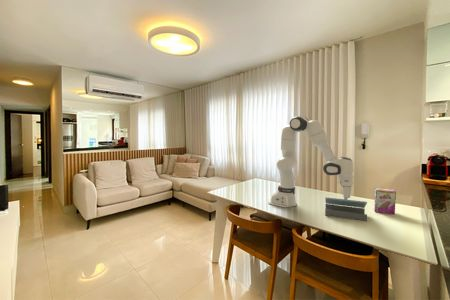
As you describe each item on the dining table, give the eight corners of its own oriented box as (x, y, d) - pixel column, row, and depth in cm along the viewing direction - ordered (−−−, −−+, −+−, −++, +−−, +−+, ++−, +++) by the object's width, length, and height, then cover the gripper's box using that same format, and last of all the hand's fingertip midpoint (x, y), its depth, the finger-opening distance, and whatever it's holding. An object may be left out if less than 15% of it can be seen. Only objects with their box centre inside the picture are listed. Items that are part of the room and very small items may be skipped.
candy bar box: (374, 212, 143) (375, 189, 141) (374, 209, 147) (374, 187, 146) (395, 215, 137) (396, 191, 136) (393, 212, 141) (394, 189, 140)
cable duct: (325, 215, 140) (325, 209, 139) (325, 209, 150) (325, 203, 150) (367, 221, 129) (367, 215, 128) (364, 214, 139) (364, 208, 139)
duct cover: (325, 198, 140) (325, 197, 141) (325, 203, 150) (325, 202, 151) (367, 203, 129) (366, 201, 130) (364, 208, 139) (364, 206, 140)
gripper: (339, 177, 149) (339, 195, 150) (341, 183, 131) (341, 204, 132) (349, 177, 146) (349, 196, 147) (352, 184, 128) (352, 205, 129)
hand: (345, 200), depth 139 cm, fingers closed
